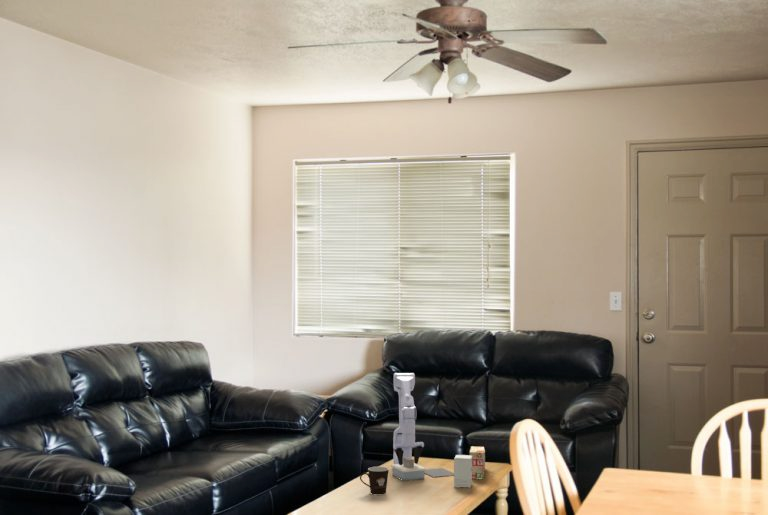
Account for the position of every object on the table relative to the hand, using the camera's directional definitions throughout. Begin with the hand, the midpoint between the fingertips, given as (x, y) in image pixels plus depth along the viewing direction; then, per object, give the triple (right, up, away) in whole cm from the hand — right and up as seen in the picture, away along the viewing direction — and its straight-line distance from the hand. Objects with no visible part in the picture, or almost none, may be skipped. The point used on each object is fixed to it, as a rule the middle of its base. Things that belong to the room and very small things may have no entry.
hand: (408, 464), depth 400 cm
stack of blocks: (+32, -7, +8) cm, 33 cm away
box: (0, -6, 0) cm, 6 cm away
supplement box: (+23, -6, -15) cm, 28 cm away
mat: (+14, -6, +9) cm, 17 cm away
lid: (0, -2, 0) cm, 2 cm away
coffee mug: (-15, -6, -28) cm, 32 cm away
